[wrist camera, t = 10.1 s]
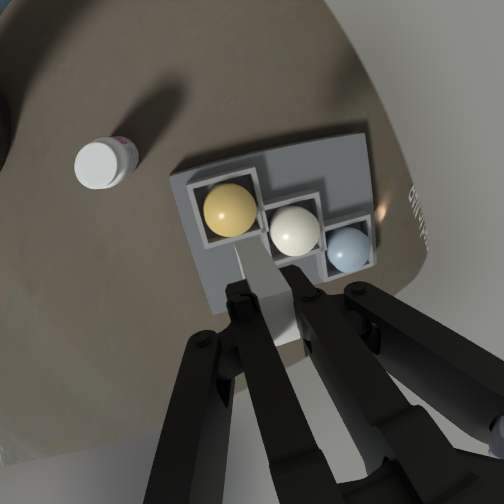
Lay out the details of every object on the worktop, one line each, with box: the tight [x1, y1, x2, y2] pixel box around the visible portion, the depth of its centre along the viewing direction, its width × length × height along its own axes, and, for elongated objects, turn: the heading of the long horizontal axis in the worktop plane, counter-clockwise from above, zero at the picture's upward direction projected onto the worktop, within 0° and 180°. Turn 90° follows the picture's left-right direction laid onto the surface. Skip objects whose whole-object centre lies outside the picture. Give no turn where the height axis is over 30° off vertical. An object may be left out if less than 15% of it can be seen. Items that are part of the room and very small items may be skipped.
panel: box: [169, 132, 377, 315], centre depth 34 cm, size 17×22×4 cm
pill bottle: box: [75, 136, 139, 189], centre depth 25 cm, size 5×5×8 cm
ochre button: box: [203, 182, 257, 237], centre depth 30 cm, size 5×5×2 cm
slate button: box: [325, 225, 371, 273], centre depth 34 cm, size 5×5×2 cm
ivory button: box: [268, 204, 320, 256], centre depth 32 cm, size 5×5×2 cm
